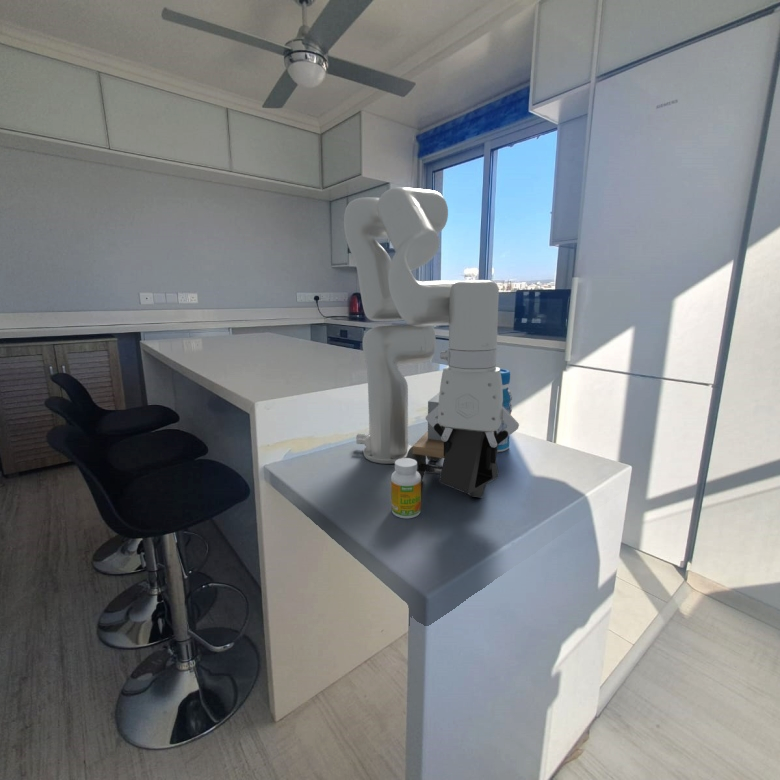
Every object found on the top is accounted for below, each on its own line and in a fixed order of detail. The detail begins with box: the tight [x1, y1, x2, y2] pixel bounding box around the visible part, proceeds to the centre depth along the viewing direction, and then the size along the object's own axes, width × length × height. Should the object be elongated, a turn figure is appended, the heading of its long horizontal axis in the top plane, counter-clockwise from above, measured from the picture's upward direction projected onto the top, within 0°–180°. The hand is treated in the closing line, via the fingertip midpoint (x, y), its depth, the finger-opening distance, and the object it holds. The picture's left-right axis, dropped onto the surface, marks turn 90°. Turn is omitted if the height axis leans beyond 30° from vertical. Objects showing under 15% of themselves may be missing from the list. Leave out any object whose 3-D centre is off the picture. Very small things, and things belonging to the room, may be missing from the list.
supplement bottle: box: [390, 458, 422, 519], centre depth 74 cm, size 5×5×10 cm
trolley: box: [406, 391, 499, 499], centre depth 88 cm, size 22×15×18 cm
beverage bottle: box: [497, 368, 513, 453], centre depth 104 cm, size 8×8×20 cm
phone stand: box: [438, 429, 499, 495], centre depth 70 cm, size 9×6×12 cm, turn 134°
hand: (469, 462), depth 70 cm, fingers closed on phone stand, 6 cm apart
